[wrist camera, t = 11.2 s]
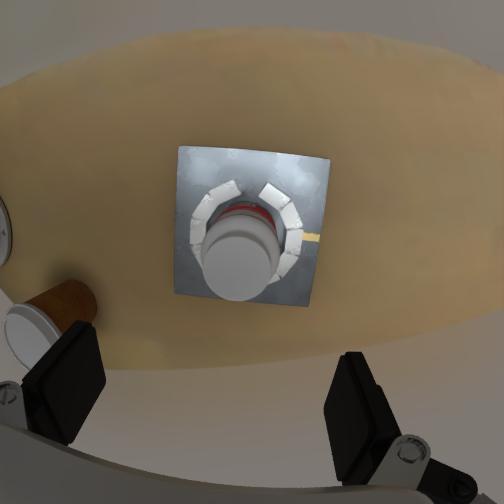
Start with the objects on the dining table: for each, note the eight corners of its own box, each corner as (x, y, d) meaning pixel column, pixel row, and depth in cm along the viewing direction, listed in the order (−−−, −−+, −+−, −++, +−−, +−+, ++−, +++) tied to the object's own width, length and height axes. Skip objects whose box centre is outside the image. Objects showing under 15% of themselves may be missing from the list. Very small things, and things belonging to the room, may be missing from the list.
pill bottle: (246, 271, 32) (237, 326, 22) (203, 231, 31) (173, 270, 21) (288, 230, 31) (301, 270, 20) (245, 187, 30) (235, 205, 19)
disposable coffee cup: (107, 278, 35) (55, 327, 23) (108, 339, 37) (67, 395, 26) (50, 260, 34) (-8, 297, 23) (54, 319, 37) (8, 364, 26)
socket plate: (177, 288, 34) (167, 303, 31) (182, 146, 30) (171, 145, 26) (306, 302, 34) (311, 318, 31) (328, 159, 29) (336, 160, 26)
